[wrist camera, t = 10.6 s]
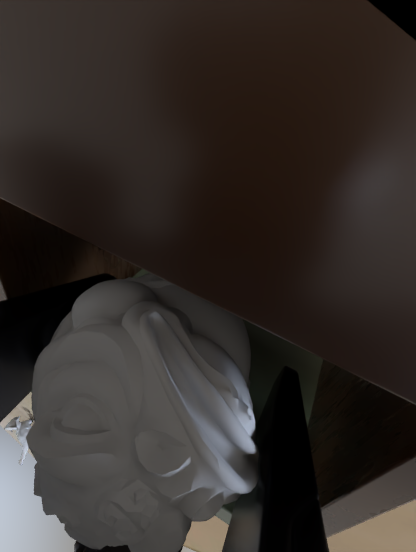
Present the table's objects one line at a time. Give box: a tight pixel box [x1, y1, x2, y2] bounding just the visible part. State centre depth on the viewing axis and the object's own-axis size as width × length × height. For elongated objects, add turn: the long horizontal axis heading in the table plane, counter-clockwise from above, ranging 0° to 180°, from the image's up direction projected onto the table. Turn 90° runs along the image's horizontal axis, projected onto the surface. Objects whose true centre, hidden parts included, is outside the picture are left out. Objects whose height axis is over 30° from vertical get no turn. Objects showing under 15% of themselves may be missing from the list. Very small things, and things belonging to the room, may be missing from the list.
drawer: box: [0, 198, 416, 538], centre depth 13 cm, size 17×13×9 cm
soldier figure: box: [4, 416, 32, 465], centre depth 55 cm, size 8×5×12 cm
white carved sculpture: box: [26, 273, 259, 552], centre depth 8 cm, size 6×7×7 cm
